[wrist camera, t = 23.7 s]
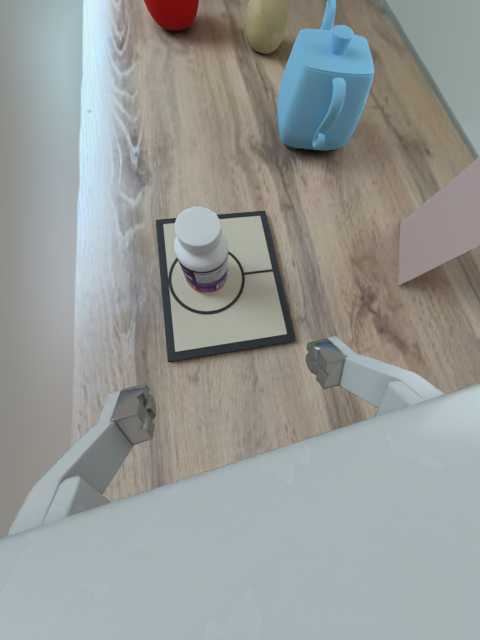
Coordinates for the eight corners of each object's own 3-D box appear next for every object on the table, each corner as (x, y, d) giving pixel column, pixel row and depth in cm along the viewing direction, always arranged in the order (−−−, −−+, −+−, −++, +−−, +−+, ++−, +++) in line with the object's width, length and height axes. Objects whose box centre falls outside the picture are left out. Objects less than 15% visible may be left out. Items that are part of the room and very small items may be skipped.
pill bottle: (182, 262, 27) (160, 204, 18) (221, 254, 28) (220, 195, 18) (191, 300, 26) (172, 258, 16) (231, 290, 27) (236, 246, 17)
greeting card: (402, 290, 30) (571, 212, 15) (365, 255, 31) (490, 152, 16) (443, 247, 32) (620, 147, 18) (407, 216, 33) (547, 98, 19)
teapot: (333, 96, 39) (376, -11, 28) (346, 169, 35) (403, 75, 24) (271, 90, 39) (290, -23, 27) (275, 164, 34) (300, 64, 23)
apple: (242, 56, 40) (238, -18, 34) (253, 60, 45) (250, -4, 39) (283, 46, 38) (284, -35, 32) (289, 52, 43) (291, -17, 37)
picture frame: (169, 362, 25) (167, 361, 24) (157, 223, 29) (154, 218, 28) (293, 341, 27) (296, 340, 26) (264, 214, 31) (265, 208, 30)
